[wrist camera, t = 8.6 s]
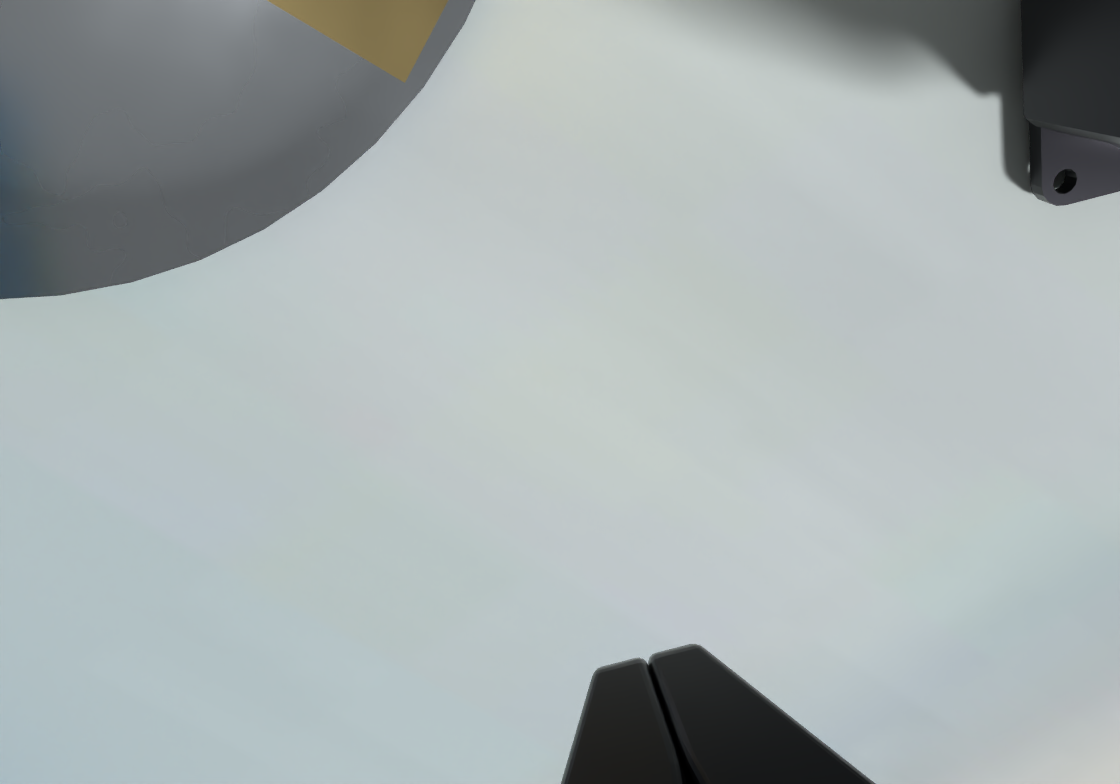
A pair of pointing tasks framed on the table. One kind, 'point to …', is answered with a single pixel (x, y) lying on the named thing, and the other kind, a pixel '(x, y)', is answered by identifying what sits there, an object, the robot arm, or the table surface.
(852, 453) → the table surface
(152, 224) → the flange plate
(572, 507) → the table surface
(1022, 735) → the table surface
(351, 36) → the ring nut
